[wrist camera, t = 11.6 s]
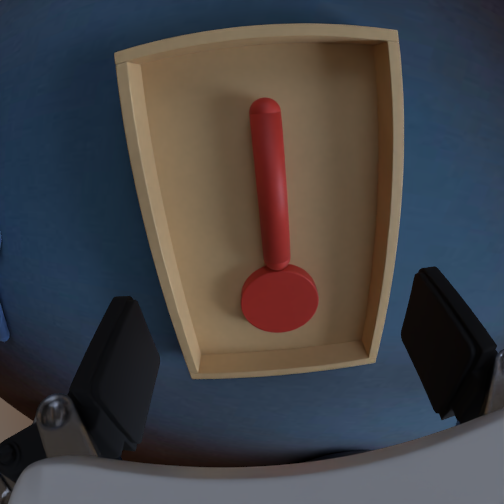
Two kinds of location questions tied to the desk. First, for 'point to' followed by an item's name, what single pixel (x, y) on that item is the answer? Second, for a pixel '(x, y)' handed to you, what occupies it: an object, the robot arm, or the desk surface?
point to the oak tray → (245, 190)
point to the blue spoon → (3, 321)
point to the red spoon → (274, 235)
